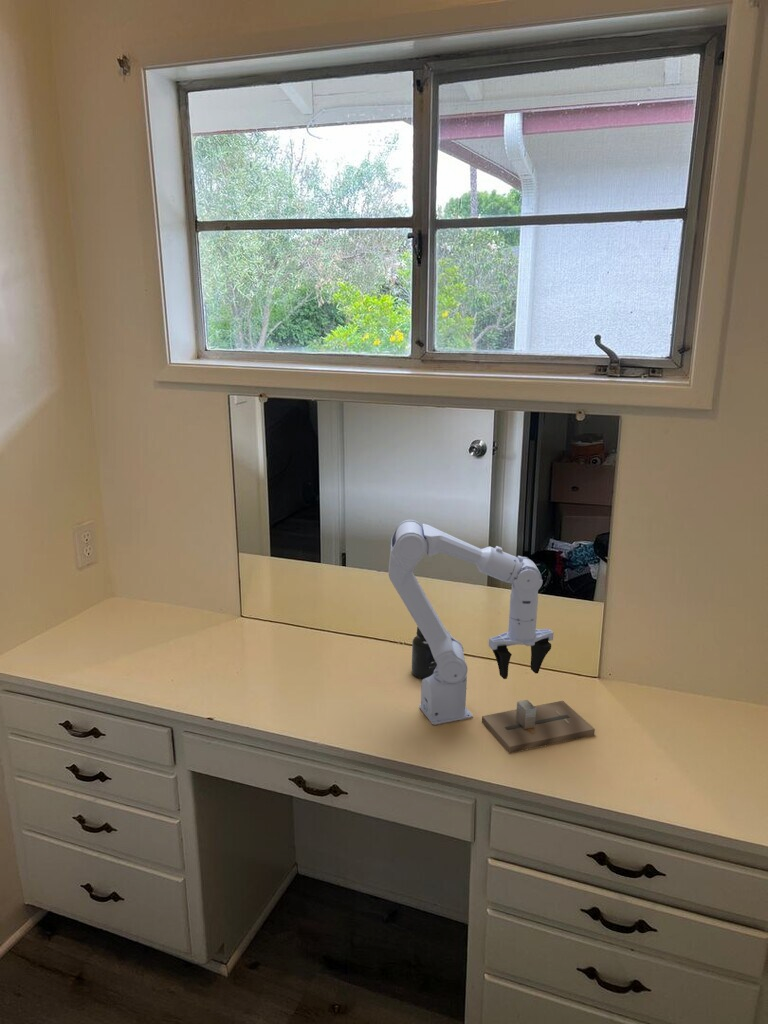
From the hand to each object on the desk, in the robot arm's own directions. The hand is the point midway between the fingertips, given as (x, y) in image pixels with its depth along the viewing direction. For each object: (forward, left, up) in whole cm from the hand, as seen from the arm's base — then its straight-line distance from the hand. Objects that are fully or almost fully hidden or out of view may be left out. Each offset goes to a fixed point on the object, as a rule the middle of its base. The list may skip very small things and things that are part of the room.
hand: (519, 674), depth 160 cm
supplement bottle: (-12, +23, -10) cm, 28 cm away
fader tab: (-2, -7, -8) cm, 11 cm away
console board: (+1, -7, -9) cm, 12 cm away
